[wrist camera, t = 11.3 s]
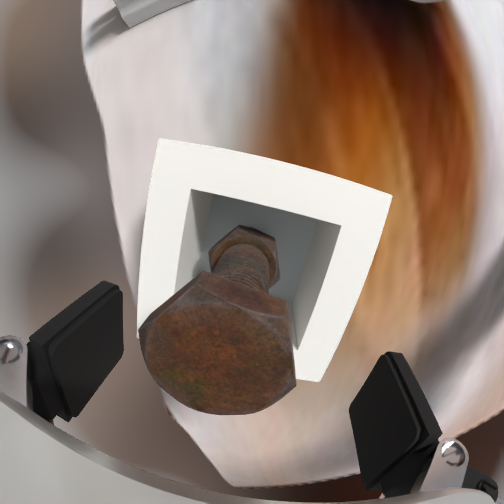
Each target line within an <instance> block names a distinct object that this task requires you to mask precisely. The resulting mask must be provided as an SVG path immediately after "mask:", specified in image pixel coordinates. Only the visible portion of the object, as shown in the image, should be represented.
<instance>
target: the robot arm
mask: <svg viewBox="0 0 504 504" xmlns="http://www.w3.org/2000/svg"><path fill="white" fill-rule="evenodd" d="M29 339H30V342H28V343H27V344H26V343H25V342H24V341H23V340H22V339H21V338H19V337H17V336H13V335H7V336H2V337H0V504H504V499H503V498H502V497H501V496H499V497H498V486H497V484H496V482H495V481H494V480H492V479H491V478H489V477H488V476H486V475H484V474H482V473H480V472H479V471H477V470H475V469H473V468H472V467H470V466H468V465H467V464H468V452H467V450H466V448H465V447H464V445H463V444H462V443H461V442H459V441H458V440H456V439H453V438H446V439H443V440H442V441H440V442H439V441H438V438H439V437H440V436H441V435H442V434H443V433H442V431H441V429H440V427H439V425H438V422H437V420H436V418H435V416H434V414H433V412H432V410H431V408H430V406H429V403H428V401H427V399H426V397H425V395H424V393H423V391H422V390H421V388H420V386H419V384H418V382H417V380H416V378H415V376H414V374H413V372H412V370H411V369H410V367H409V365H408V363H407V361H406V359H405V358H404V356H403V354H402V353H396V352H386V353H385V354H384V355H381V356H380V358H379V359H378V361H377V363H376V365H375V366H374V368H373V370H372V371H371V373H370V375H369V376H368V378H367V380H366V381H365V383H364V385H363V386H362V388H361V389H360V391H359V392H358V394H357V395H356V397H355V398H354V400H353V401H352V403H351V405H350V408H349V414H350V419H351V424H352V429H353V434H354V439H355V444H356V449H357V455H358V460H359V466H360V472H361V478H362V482H363V483H364V484H366V489H367V491H372V490H380V489H381V488H382V492H383V493H382V495H381V496H380V498H379V499H374V500H366V501H354V502H337V503H301V502H283V501H271V500H262V499H254V498H247V497H241V496H235V495H229V494H224V493H219V492H215V491H210V490H205V489H202V488H197V487H194V486H190V485H186V484H183V483H180V482H176V481H173V480H170V479H167V478H163V477H161V476H158V475H155V474H152V473H149V472H147V471H144V470H142V469H139V468H136V467H134V466H131V465H129V464H127V463H124V462H122V461H120V460H118V459H115V458H113V457H111V456H109V455H107V454H105V453H103V452H100V451H98V450H97V449H95V448H93V447H91V446H89V445H87V444H85V443H83V442H82V441H79V440H78V439H76V438H74V437H73V436H71V435H69V434H67V433H66V432H64V431H62V430H61V429H59V428H57V427H56V426H54V423H53V419H54V417H55V416H56V415H57V416H59V417H61V418H62V419H64V420H65V421H67V422H69V421H70V420H71V418H72V417H77V416H78V415H79V414H80V412H81V411H82V410H83V408H84V407H85V405H86V404H87V403H88V401H89V400H90V399H91V397H92V396H93V395H94V393H95V392H96V390H97V389H98V387H99V386H100V385H101V384H102V382H103V381H104V379H105V378H106V377H107V376H108V374H109V373H110V372H111V370H112V369H113V368H114V367H115V365H116V364H117V363H118V361H119V360H120V359H121V357H122V354H123V351H124V345H123V293H122V291H120V290H119V286H117V285H115V284H113V283H110V282H107V281H102V282H100V283H99V284H98V285H96V286H95V287H94V288H92V289H91V290H89V291H88V292H87V293H85V294H84V295H82V296H81V297H80V298H78V299H77V300H76V301H74V302H73V303H72V304H70V305H69V306H68V307H67V308H65V309H64V310H63V311H61V312H60V313H59V314H58V315H56V316H55V317H54V318H52V319H51V320H50V321H49V322H47V323H46V324H45V325H43V326H42V327H41V328H40V329H39V330H37V331H36V332H35V333H34V334H32V335H31V336H30V337H29Z"/></svg>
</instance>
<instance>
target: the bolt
mask: <svg viewBox="0 0 504 504" xmlns="http://www.w3.org/2000/svg"><path fill="white" fill-rule="evenodd" d="M208 255H209V263H210V269H211V273H209V272H207V271H204V270H203V271H202V272H201V273H200V274H198V275H197V276H196V277H195V278H193V279H192V280H191V281H190V282H188V283H187V284H186V285H185V286H183V287H182V288H181V289H180V290H179V291H177V292H176V293H175V294H174V295H173V296H171V297H170V298H169V299H168V300H166V301H165V302H164V303H163V304H162V305H160V306H159V307H158V308H157V309H156V310H154V311H153V312H152V313H151V314H150V315H149V316H148V317H147V319H146V320H145V321H144V322H143V324H142V325H141V326H140V328H139V329H138V333H139V339H140V345H141V350H142V353H143V356H144V360H145V362H146V365H147V368H148V370H149V372H150V374H151V376H152V377H153V379H154V380H155V381H156V383H157V384H158V385H159V386H160V387H162V388H163V389H164V390H165V391H166V392H167V393H169V394H170V395H171V396H172V397H174V398H175V399H176V400H178V401H179V402H181V403H182V404H184V405H186V406H187V407H189V408H192V409H194V410H197V411H200V412H204V413H208V414H215V415H245V414H251V413H255V412H258V411H261V410H263V409H265V408H267V407H269V406H271V405H273V404H274V403H276V402H277V401H279V400H280V399H282V398H283V397H284V396H285V395H286V394H288V393H289V392H290V391H291V390H292V389H293V388H294V387H296V374H295V362H294V354H293V345H292V337H291V328H290V320H289V312H288V305H287V301H286V300H283V299H280V298H277V297H274V296H272V295H269V289H270V288H271V287H272V286H274V285H275V284H276V283H277V282H278V281H279V280H280V269H279V261H278V254H277V248H276V242H275V238H274V237H272V236H270V235H268V234H266V233H263V232H261V231H259V230H257V229H255V228H253V227H246V226H243V225H238V226H237V227H235V228H234V229H233V230H232V231H230V232H229V233H228V234H227V235H225V236H224V237H223V238H222V239H221V240H219V241H218V242H217V243H216V244H215V245H214V246H213V247H211V249H210V250H209V252H208Z"/></svg>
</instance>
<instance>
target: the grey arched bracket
mask: <svg viewBox="0 0 504 504" xmlns="http://www.w3.org/2000/svg"><path fill="white" fill-rule="evenodd" d="M113 1H114V2H115V4H116V6H117V8H118V10H119V12H120V14H121V16H122V19H123V20H124V21H125V23H126V24H127V25H128V26H129V28H131V27H133V26H135V25H136V24H138V23H140V22H142V21H144V20H146V19H149V18H151V17H153V16H155V15H157V14H159V13H162V12H164V11H166V10H168V9H171V8H173V7H176V6H178V5H181V4H183V3H186V2H189V1H191V0H113Z"/></svg>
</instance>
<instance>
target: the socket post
mask: <svg viewBox="0 0 504 504" xmlns="http://www.w3.org/2000/svg"><path fill="white" fill-rule="evenodd" d="M391 199H392V195H389V194H387V193H384V192H381V191H378V190H375V189H373V188H370V187H367V186H364V185H361V184H358V183H355V182H352V181H349V180H345V179H342V178H339V177H336V176H332V175H329V174H326V173H322V172H319V171H315V170H312V169H308V168H305V167H301V166H297V165H293V164H289V163H286V162H282V161H278V160H273V159H269V158H265V157H261V156H256V155H252V154H247V153H243V152H238V151H233V150H228V149H223V148H218V147H212V146H207V145H201V144H195V143H189V142H182V141H176V140H169V139H161V138H159V140H158V145H157V149H156V154H155V159H154V165H153V170H152V175H151V181H150V187H149V193H148V200H147V207H146V214H145V221H144V230H143V238H142V248H141V259H140V271H139V286H138V307H137V338H139V333H138V329H139V328H140V326H141V325H142V324H143V322H144V321H145V320H146V319H147V317H148V316H149V315H150V314H151V313H152V312H153V311H154V310H156V309H157V308H158V307H159V306H160V305H162V304H163V303H164V302H165V301H166V300H168V299H169V298H170V297H171V296H173V295H174V294H175V293H176V292H177V291H179V290H180V289H181V288H182V287H183V286H185V285H186V284H187V283H188V282H190V281H191V280H192V279H193V278H195V277H196V276H197V275H198V274H200V273H201V272H202V271H203V270H204V271H207V272H209V273H211V269H210V263H209V255H208V252H209V250H210V249H211V247H213V246H214V245H215V244H216V243H217V242H218V241H219V240H221V239H222V238H223V237H224V236H225V235H227V234H228V233H229V232H230V231H232V230H233V229H234V228H235V227H237V226H238V225H243V226H246V227H253V228H255V229H257V230H259V231H261V232H263V233H266V234H268V235H270V236H272V237H274V238H275V242H276V248H277V254H278V261H279V269H280V280H279V281H278V282H277V283H276V284H275V285H274V286H272V287H271V288H270V289H269V295H272V296H274V297H277V298H280V299H283V300H286V301H287V305H288V312H289V320H290V328H291V337H292V345H293V354H294V362H295V374H296V379H302V380H308V381H315V382H320V380H321V378H322V376H323V374H324V372H325V371H326V369H327V367H328V365H329V363H330V361H331V358H332V356H333V354H334V352H335V350H336V348H337V346H338V344H339V342H340V339H341V337H342V335H343V333H344V331H345V328H346V326H347V324H348V322H349V319H350V317H351V315H352V312H353V310H354V307H355V305H356V303H357V300H358V298H359V295H360V293H361V290H362V287H363V285H364V282H365V280H366V277H367V274H368V271H369V269H370V266H371V263H372V260H373V257H374V255H375V252H376V249H377V246H378V243H379V240H380V236H381V233H382V230H383V227H384V224H385V220H386V217H387V214H388V210H389V207H390V203H391Z"/></svg>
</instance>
